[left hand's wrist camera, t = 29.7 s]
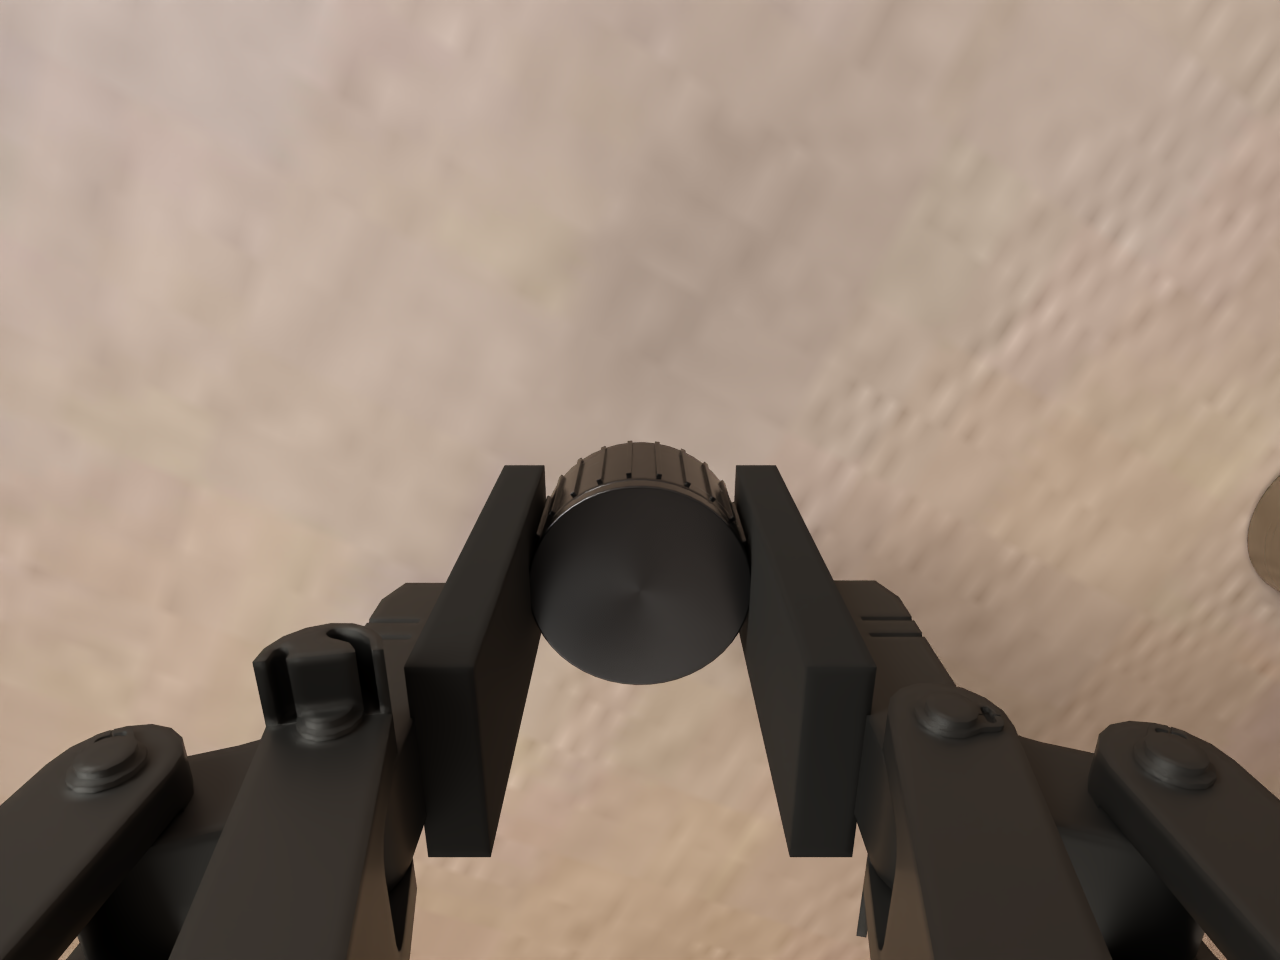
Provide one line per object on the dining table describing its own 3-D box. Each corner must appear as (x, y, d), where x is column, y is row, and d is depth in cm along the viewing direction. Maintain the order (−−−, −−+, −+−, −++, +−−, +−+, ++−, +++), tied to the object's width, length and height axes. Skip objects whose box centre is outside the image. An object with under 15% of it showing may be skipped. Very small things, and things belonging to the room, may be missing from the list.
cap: (746, 441, 14) (766, 487, 12) (730, 621, 15) (745, 691, 13) (540, 434, 14) (521, 479, 12) (542, 615, 15) (525, 684, 13)
